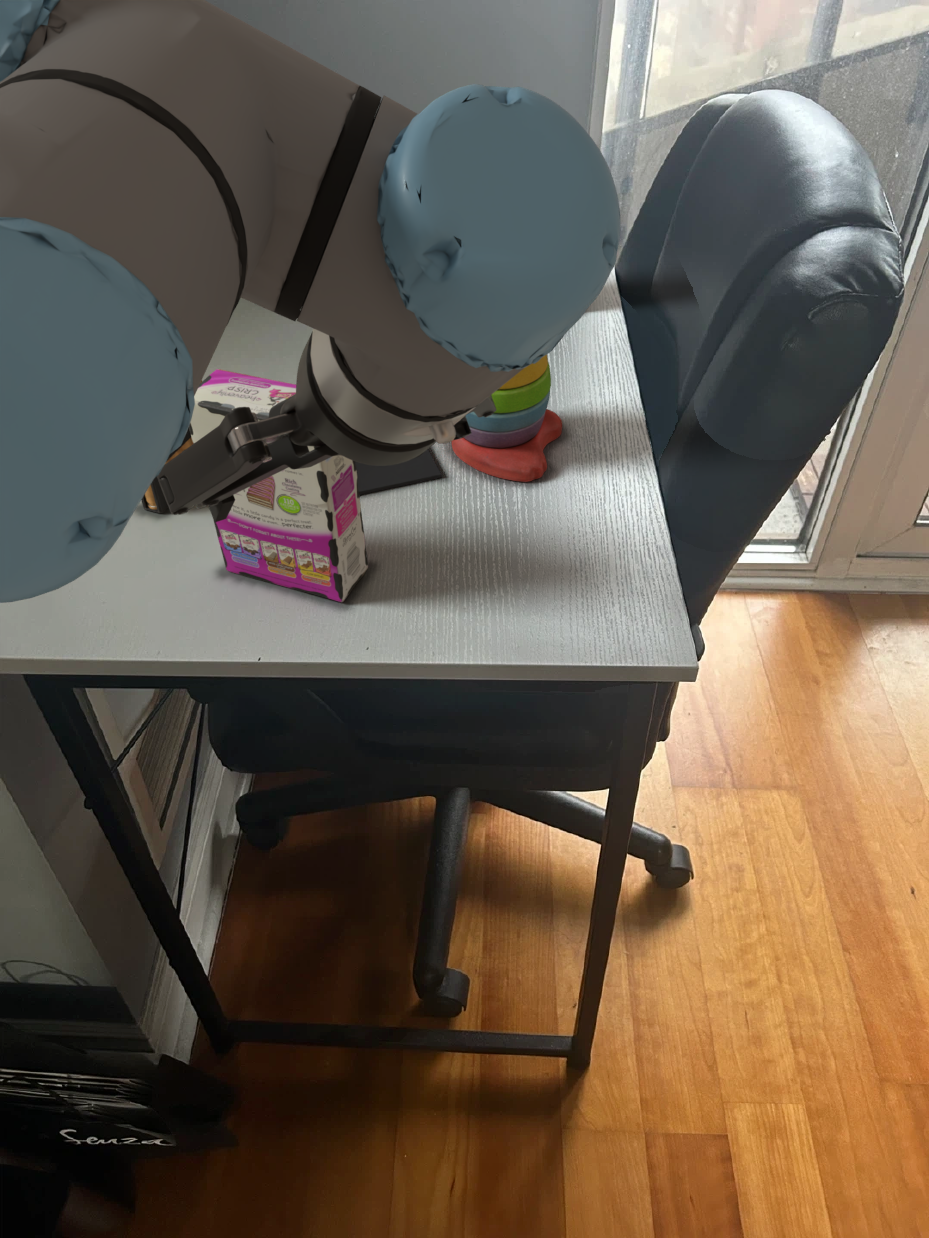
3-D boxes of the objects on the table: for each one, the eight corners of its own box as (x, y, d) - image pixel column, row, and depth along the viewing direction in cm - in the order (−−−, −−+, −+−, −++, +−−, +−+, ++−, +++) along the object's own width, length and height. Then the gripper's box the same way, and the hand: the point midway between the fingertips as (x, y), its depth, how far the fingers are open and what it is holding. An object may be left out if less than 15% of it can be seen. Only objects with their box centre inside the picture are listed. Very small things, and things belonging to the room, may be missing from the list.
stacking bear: (540, 487, 85) (549, 300, 72) (434, 469, 87) (424, 285, 75) (566, 422, 92) (578, 243, 80) (467, 407, 95) (464, 230, 82)
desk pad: (246, 519, 82) (245, 515, 82) (223, 434, 92) (222, 430, 92) (441, 477, 86) (441, 474, 86) (400, 400, 96) (400, 396, 95)
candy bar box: (371, 566, 78) (351, 392, 66) (344, 605, 75) (317, 429, 63) (254, 535, 81) (216, 364, 69) (223, 571, 78) (177, 398, 66)
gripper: (144, 534, 38) (145, 586, 58) (652, 372, 46) (498, 467, 66) (75, 356, 37) (100, 470, 57) (600, 224, 45) (461, 365, 65)
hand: (313, 469), depth 62 cm, fingers open, 13 cm apart
